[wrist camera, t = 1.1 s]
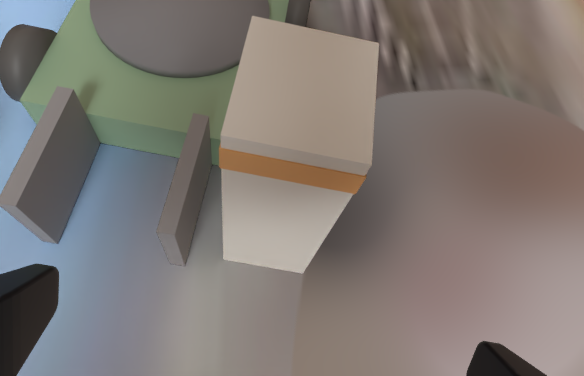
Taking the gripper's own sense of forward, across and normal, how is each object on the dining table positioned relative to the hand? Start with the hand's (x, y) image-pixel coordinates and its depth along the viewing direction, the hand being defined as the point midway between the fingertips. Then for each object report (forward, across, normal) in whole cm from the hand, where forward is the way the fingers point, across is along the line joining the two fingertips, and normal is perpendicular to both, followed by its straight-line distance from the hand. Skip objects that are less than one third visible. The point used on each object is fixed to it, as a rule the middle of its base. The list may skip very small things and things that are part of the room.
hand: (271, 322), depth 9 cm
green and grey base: (+20, +8, -1) cm, 22 cm away
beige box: (+15, 0, +4) cm, 16 cm away
